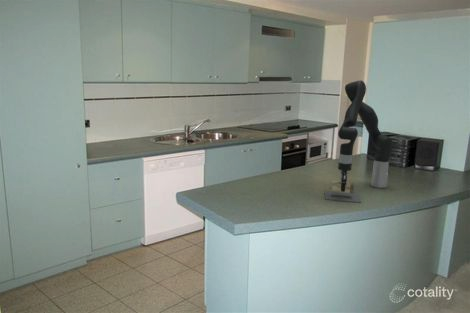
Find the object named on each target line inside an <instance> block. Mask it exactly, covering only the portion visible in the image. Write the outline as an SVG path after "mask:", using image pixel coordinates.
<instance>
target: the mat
mask: <svg viewBox="0 0 470 313" xmlns="http://www.w3.org/2000/svg"><path fill="white" fill-rule="evenodd" d="M324 200H325V201H334V202H335V201H336V202H346V203H357V204H361V203H362V201H361V198H360V194H359V193H343V192H333V191H324Z"/></svg>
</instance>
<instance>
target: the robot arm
mask: <svg viewBox="0 0 470 313" xmlns="http://www.w3.org/2000/svg"><path fill="white" fill-rule="evenodd" d="M344 90H345V94H346V96H347V98H348V99H349V101H350V102H351V104H350V105H349V106H348V107H347V109H346V110H345V115H344V119H343V122H342V124H341V126H340V127H339V130H338V134H337V135H338V138H339V139H341V140H345V141H346V140H347V141H349V142H344V143H341V144H340V146H339V156H338V163H337V169H338V170H339V171H340V173H339V174H340V178H339V179H340V182H341V191H343V192H344V191H345V185H346V182H348V176H349V175H348V174H349V173H348V172H350V171H352V165H353V151H354V145H355V143H356V139H357V137H358V134H359V132H358V129H357V128H355V126H356V125H357V121H358V116H359V118H360V120H361V122H362V123H363V125H364V127H365V129H366V131H367V133H368V135H369V138H370V141H371V143H372V145H373V147H374V148H375V149H377V150H379V153H378V154H376V155H374V158H373V165H372V166H373V167H372V174H371V183H370V185H371V187H374V188H378V189H379V188H380V189H383V188H385V189H386V188H387V187H388V179H389V173H388V172H389V164H390V159H391V156H392V152H393V147H394V146H393V145H394V142H393V139H392V138H391V137H390V136H387V135H384V134H382V133H381V131H380V129H379V118H378V115H377V113H376V111H375V109H374V108H373V107H371V105H368V104H367V103H366V102H363V101H364V99H365V96H366V92H367V86H366V83H365V81H363V80H355V81H353V82H349V83H347V84H345V86H344ZM343 182H345V183H343ZM343 192H342V193H343Z"/></svg>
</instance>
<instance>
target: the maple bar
mask: <svg viewBox="0 0 470 313" xmlns="http://www.w3.org/2000/svg"><path fill="white" fill-rule="evenodd" d="M331 181H332V182H331V192H338V193H350V194H354V191H355V189H354V188H355V184H354V182H348V181H346V185H345V191H344V192H343V191H341V181H334V180H331ZM343 183H345V182H343Z"/></svg>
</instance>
